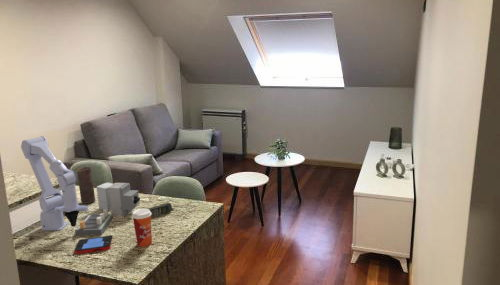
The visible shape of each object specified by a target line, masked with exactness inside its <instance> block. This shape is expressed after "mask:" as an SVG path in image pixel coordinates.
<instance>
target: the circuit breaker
mask: <svg viewBox="0 0 500 285" xmlns="http://www.w3.org/2000/svg"><path fill="white" fill-rule="evenodd" d="M112 184H113V185H111V186H110V187H108V196H110V200H111V206H110V210H109V212H110V213H109V214H113V217H114V216H118V217H126V216H127V215H129V214H130V213H131V212H133V210H134V209H136V208H137V207H138V206H139V205H140V200H141V198H140V194H139V190H135V189H131V184H130V183H129V182H115V183H112ZM109 193H110V194H109Z"/></svg>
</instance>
